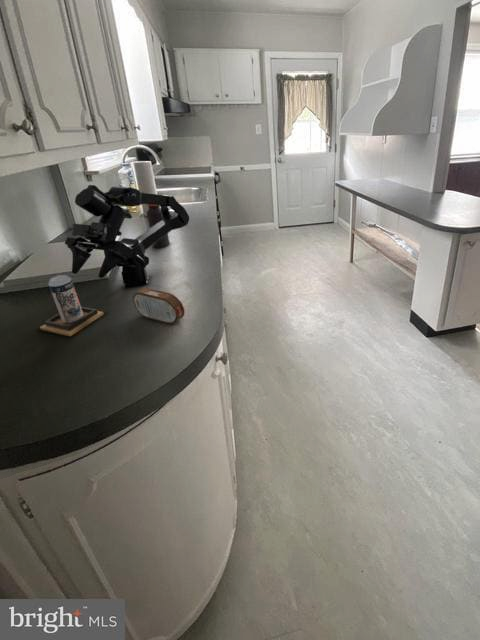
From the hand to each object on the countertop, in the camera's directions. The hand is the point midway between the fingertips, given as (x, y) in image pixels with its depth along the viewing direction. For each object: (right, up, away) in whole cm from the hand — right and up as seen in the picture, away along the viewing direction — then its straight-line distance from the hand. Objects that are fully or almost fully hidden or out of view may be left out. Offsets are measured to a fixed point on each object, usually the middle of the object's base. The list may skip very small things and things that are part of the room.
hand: (86, 275), depth 82 cm
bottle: (-1, +10, +50) cm, 51 cm away
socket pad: (-2, -12, -2) cm, 12 cm away
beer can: (-2, -11, -2) cm, 12 cm away
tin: (+21, -12, -2) cm, 24 cm away
